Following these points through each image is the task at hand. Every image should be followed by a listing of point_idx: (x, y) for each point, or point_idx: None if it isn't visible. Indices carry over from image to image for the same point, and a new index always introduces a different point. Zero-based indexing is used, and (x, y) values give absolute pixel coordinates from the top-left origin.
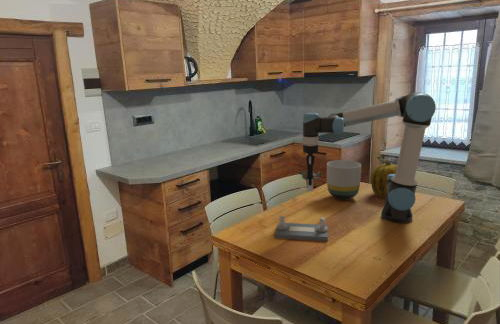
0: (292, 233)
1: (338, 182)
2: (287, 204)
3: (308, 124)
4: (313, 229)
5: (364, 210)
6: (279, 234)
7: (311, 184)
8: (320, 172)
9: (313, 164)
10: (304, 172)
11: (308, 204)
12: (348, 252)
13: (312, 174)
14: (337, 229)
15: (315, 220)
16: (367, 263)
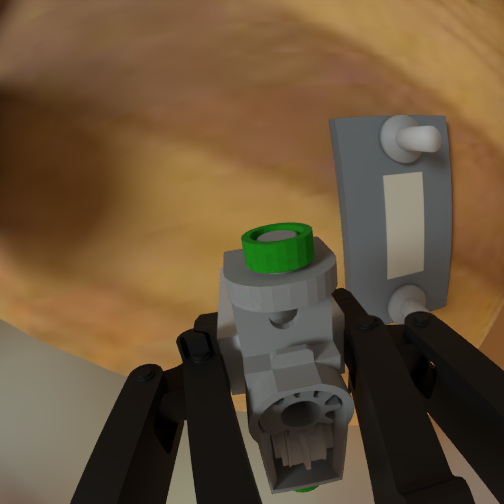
0: (440, 252)
1: None
2: (100, 354)
3: None
4: (402, 177)
5: (57, 18)
6: (447, 291)
7: (342, 293)
8: (298, 249)
9: (466, 491)
10: (343, 458)
11: (57, 272)
12: (475, 58)
13: (450, 345)
14: (321, 77)
15: (242, 192)
16: (498, 26)
